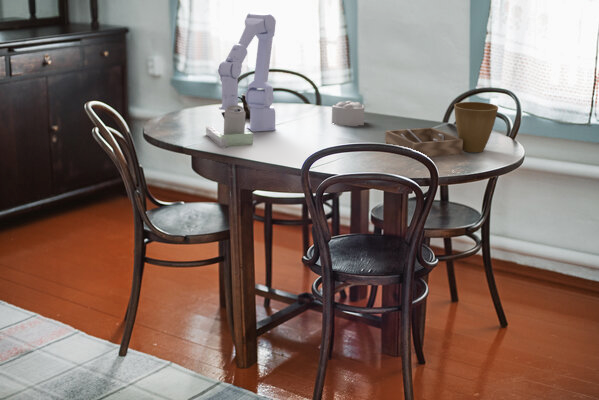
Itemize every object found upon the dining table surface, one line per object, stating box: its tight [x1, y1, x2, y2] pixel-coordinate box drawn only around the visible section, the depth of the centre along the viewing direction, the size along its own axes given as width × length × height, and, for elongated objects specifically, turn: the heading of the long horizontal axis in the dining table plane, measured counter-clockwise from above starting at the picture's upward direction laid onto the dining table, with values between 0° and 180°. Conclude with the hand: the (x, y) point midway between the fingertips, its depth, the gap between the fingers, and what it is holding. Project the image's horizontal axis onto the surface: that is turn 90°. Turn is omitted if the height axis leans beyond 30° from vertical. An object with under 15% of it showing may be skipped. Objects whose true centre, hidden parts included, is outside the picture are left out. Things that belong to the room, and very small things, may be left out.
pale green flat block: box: [205, 126, 254, 149], centre depth 277 cm, size 12×22×4 cm, turn 21°
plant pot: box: [453, 101, 499, 153], centre depth 265 cm, size 15×15×16 cm
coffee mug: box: [238, 92, 250, 121], centre depth 316 cm, size 12×9×10 cm
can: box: [223, 105, 246, 135], centre depth 273 cm, size 8×8×12 cm
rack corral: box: [384, 127, 463, 158], centre depth 267 cm, size 19×21×5 cm
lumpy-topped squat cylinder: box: [331, 100, 365, 127], centre depth 308 cm, size 10×13×9 cm
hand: (230, 131), depth 279 cm, fingers closed, pressing on can
